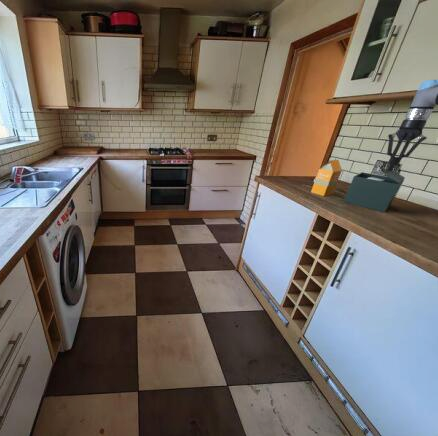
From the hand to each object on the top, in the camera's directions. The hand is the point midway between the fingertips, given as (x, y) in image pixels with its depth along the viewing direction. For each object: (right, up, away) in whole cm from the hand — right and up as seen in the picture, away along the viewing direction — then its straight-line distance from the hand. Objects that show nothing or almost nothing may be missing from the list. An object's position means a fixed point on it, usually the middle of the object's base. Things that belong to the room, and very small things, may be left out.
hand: (389, 170), depth 114 cm
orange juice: (-16, -9, +24) cm, 30 cm away
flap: (+1, -3, -1) cm, 3 cm away
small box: (-3, -15, +11) cm, 19 cm away
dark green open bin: (-2, -16, +10) cm, 19 cm away
